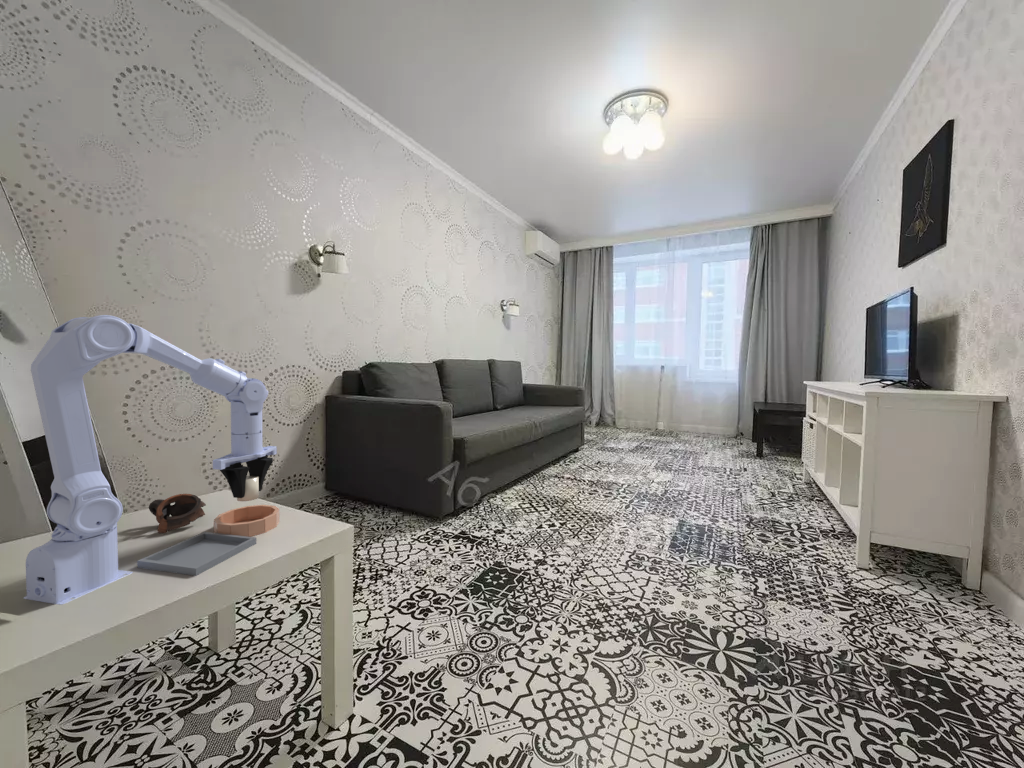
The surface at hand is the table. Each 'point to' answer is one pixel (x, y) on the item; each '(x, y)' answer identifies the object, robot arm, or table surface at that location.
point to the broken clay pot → (176, 511)
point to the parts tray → (197, 553)
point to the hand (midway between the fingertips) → (247, 493)
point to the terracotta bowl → (247, 520)
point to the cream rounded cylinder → (251, 489)
